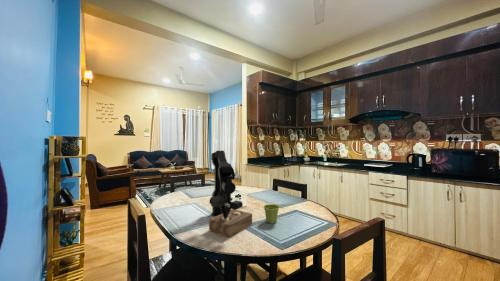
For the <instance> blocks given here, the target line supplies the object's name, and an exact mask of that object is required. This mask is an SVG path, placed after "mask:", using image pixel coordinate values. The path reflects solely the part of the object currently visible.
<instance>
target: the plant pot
mask: <svg viewBox="0 0 500 281" xmlns="http://www.w3.org/2000/svg"><path fill="white" fill-rule="evenodd" d="M263 209H264V213H265V220H266V222H267V223H270V224H275V223H277V221H278V213H279V209H280V206H279V205H278V204H272V203H271V204H270V203H268V204H265V205H263Z"/></svg>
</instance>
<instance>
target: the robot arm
mask: <svg viewBox="0 0 500 281" xmlns="http://www.w3.org/2000/svg"><path fill="white" fill-rule="evenodd" d="M210 161H211V163H212V165H213V166H214V190H212V191H213V192H212V193H211V197H210V199H209V204H210V206H211V207H212V208H211V209H212V212H211V213H210V215H211V216H213V217H216V216H218V215H220V214H223V216H224V219H227V217H228V214H229V212H230V210H232V209H234V210H239V209H241V208H243V201H241V200H233V198H232V194H234V193H235V191H236V190H237V189H236V188H237V187H236V184H235V183H234V182H233V180H235V179H236V178H235V177H236V174H235V169H234V167H233V165H231V163H229V162H228V160H227V158H226V153H225V151H224V150H216V151H214V152H212V153H211V155H210Z"/></svg>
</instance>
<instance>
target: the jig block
mask: <svg viewBox="0 0 500 281" xmlns="http://www.w3.org/2000/svg"><path fill="white" fill-rule="evenodd" d="M234 212H240V213H241V215H239V216H236V215H234ZM222 218H224V216H223V214H220V215H218V216H213V217H211V218H209V219H208V220H209V221H208V224H209V225H208V231H210V232H211V233H215V234H217V235H220V236H224V237H226V238H231V237H233V236H235V235H236V234H238V233H240V232H241V231H244V229H245V230H246V228H248V227H250V226H252V225H253V213H251V212H247V211H243V210H239V209H236V210H234V209H231V210H230V212H229V214H228V218H229V221H227V222H225V221H222Z"/></svg>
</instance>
